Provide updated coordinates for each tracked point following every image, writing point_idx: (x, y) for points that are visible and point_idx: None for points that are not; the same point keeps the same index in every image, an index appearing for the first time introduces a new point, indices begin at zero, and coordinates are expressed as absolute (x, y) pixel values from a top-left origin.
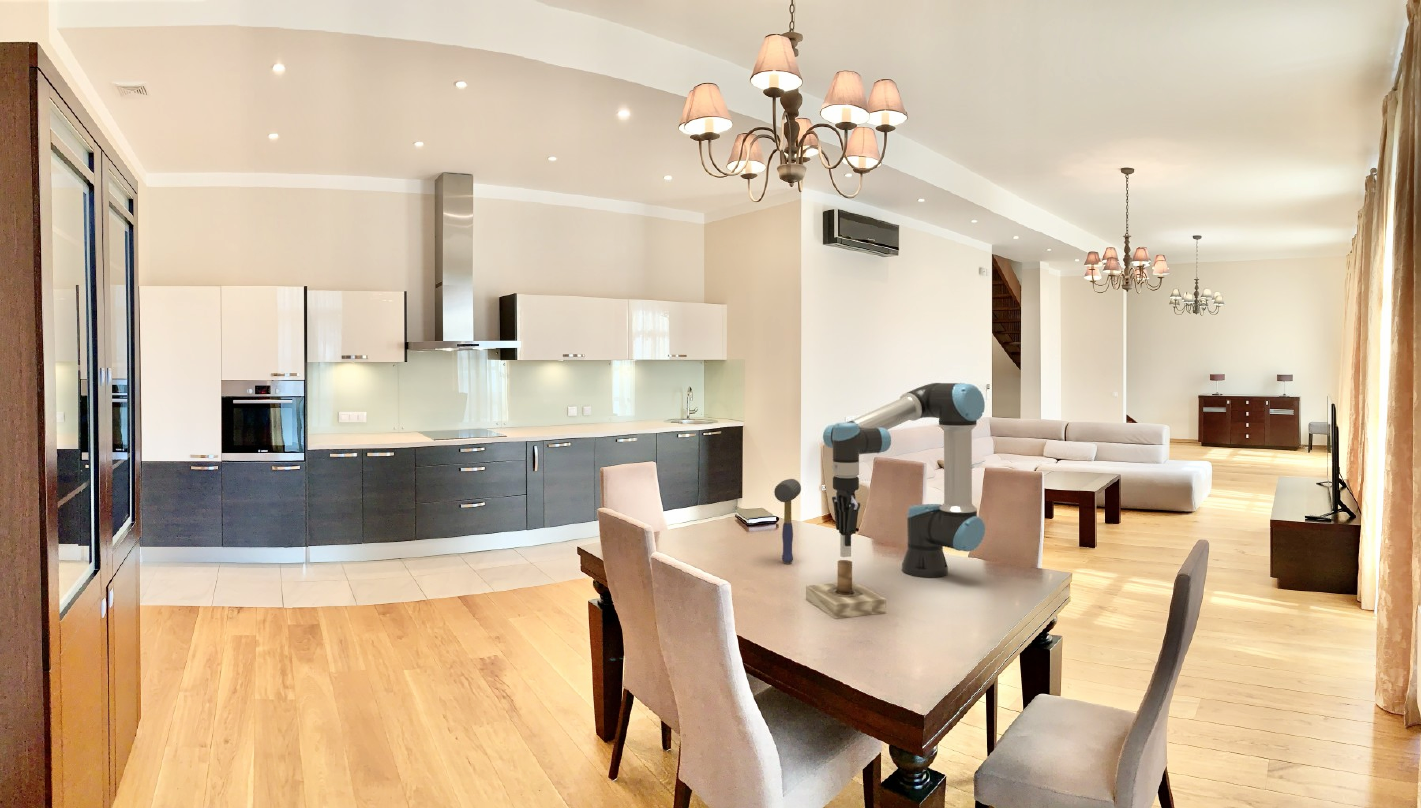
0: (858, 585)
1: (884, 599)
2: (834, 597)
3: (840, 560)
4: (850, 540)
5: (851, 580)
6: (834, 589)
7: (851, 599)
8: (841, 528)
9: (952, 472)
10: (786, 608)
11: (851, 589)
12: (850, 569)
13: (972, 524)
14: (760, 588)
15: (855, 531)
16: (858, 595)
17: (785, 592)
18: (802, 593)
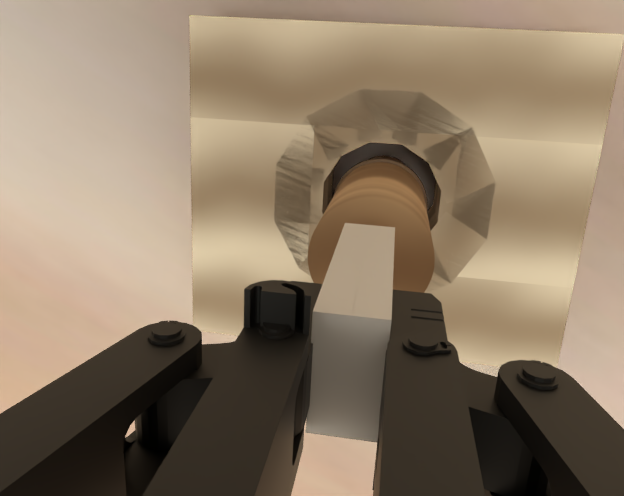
0: (284, 35)
1: (622, 46)
2: (444, 309)
3: (314, 267)
4: (442, 331)
5: (419, 193)
6: (308, 226)
7: (522, 245)
8: (294, 472)
9: None
10: (312, 443)
11: (416, 180)
12: (429, 227)
13: None
14: (13, 396)
15: (585, 396)
16: (473, 162)
17: (95, 332)
18: (129, 270)
